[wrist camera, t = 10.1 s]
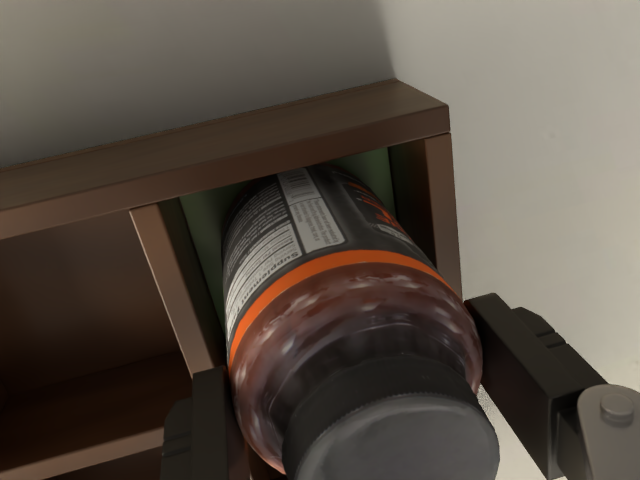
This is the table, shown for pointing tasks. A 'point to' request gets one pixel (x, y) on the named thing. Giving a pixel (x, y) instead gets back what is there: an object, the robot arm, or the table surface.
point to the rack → (173, 265)
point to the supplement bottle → (347, 338)
